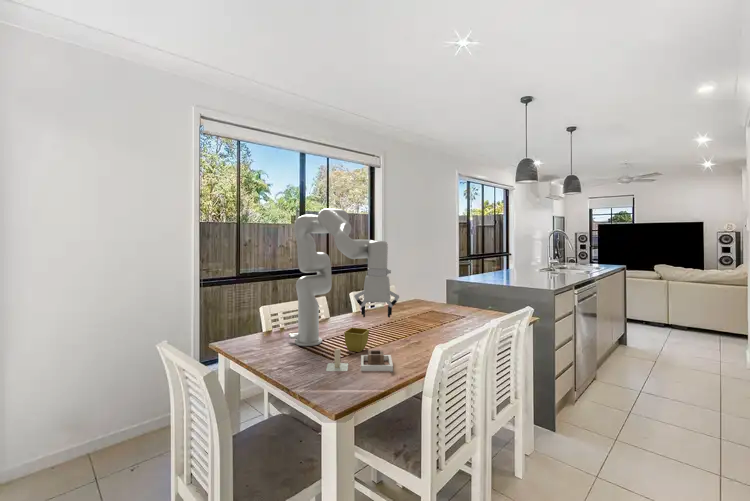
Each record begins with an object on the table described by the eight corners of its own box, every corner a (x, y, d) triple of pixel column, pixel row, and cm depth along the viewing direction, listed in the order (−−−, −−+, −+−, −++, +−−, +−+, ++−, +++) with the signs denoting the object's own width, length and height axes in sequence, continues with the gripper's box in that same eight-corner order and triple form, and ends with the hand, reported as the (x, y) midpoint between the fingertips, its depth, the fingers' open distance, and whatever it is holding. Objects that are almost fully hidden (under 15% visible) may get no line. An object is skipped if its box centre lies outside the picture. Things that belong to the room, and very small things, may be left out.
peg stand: (325, 372, 135) (325, 352, 135) (327, 364, 143) (328, 346, 143) (347, 372, 135) (347, 352, 135) (348, 364, 143) (348, 346, 143)
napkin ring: (367, 362, 145) (367, 350, 144) (382, 362, 145) (382, 350, 145) (367, 368, 139) (368, 355, 138) (383, 368, 139) (383, 355, 139)
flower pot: (369, 348, 163) (369, 329, 163) (362, 355, 155) (362, 334, 154) (351, 346, 166) (351, 327, 166) (343, 352, 158) (343, 332, 157)
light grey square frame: (360, 372, 136) (360, 365, 135) (361, 361, 148) (361, 355, 147) (392, 372, 136) (393, 365, 136) (390, 361, 148) (390, 355, 148)
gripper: (398, 272, 144) (397, 314, 145) (355, 271, 143) (354, 314, 144) (400, 274, 136) (399, 319, 137) (354, 273, 136) (353, 318, 137)
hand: (376, 316), depth 141 cm, fingers open, 9 cm apart
